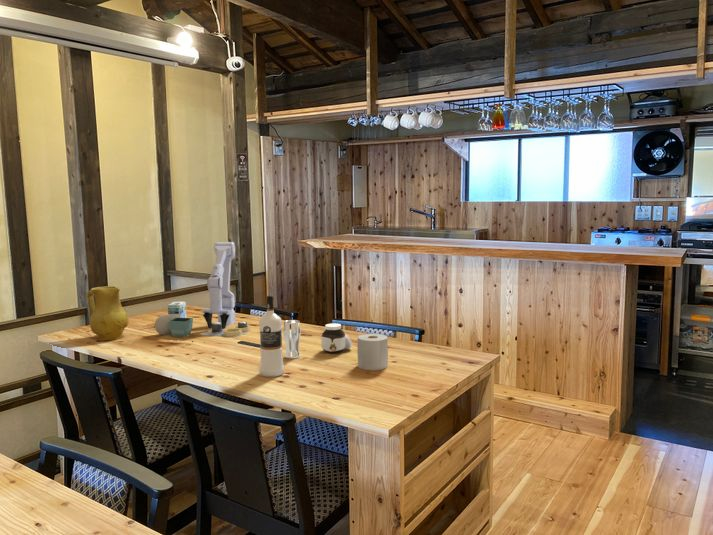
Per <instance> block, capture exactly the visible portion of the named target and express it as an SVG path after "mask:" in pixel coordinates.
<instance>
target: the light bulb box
mask: <svg viewBox="0 0 713 535" xmlns="http://www.w3.org/2000/svg"><path fill="white" fill-rule="evenodd" d="M167 311H168V312H167V315H170V316H172V317H173V318H188V317H187V302H186V301H172V302H170V303H169V304H167Z"/></svg>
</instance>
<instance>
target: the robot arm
mask: <svg viewBox="0 0 713 535" xmlns="http://www.w3.org/2000/svg"><path fill="white" fill-rule="evenodd" d="M213 248H214V249H213V252H214V253H215V255H216V257H215V258H216V259H215V264H214V265H212V269H211V272H210V276H209V277H208V278H207V280H206V282H207V283H206V284H207V289H208V291H207V292H208V293H209V308H203V309H202V310H201V312H202V313H201V314H202V317H203V318H204V320H205V322H206V324H207V328H208V329H212V323H213V322H212V321H213V320H212V319H213V314H216V315H217V322H220V323H222V329H226V328H227V327H228V326H232V325H233V324H235V323H236V311H235V310H234V308H235V306H236V300H235V294H234V292H232V291H230V286H231V272H232V271H231V266H232V261H233V260H234V259H235V257H236V244H235V242H234V241H226V242H225V241H221V242H220V241H216V242H214V244H213Z"/></svg>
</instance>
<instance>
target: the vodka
mask: <svg viewBox="0 0 713 535" xmlns="http://www.w3.org/2000/svg"><path fill="white" fill-rule="evenodd" d="M274 306H275V305H274V295H266V313H264V314H263V315H262V316H261V317H260V318H259V321H258V324H259V334H260V335H259V336H260V337H259V338H260V339H259V340H260V349H259V350H260V364H259V374H260V375H261V376H262V377H265V378H275V377H280V376H281V375H283V374H284V373H285V366H284V359H283V342H282V340H283V338H282V337H283V335H282V333H283V332H282V329H283V326H282V324H283V321H282V318H281V317H280V316H279V315H278V314H276V313H275V311H274V310H275V309H274Z"/></svg>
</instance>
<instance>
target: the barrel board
mask: <svg viewBox="0 0 713 535" xmlns="http://www.w3.org/2000/svg"><path fill="white" fill-rule="evenodd" d="M250 328H251V326H250V325H248V322H247V321H238V322H237V325H236V326H235V327H231V328H225V329H222V331H221V332H212V329H211V330H208V331H206V332H203V333H201V334H200V336H210V337H212V336H213V337H223V338H224V337H227V338H239V337H242V336H244V335H245V334H247V333H250V332H251V329H250Z"/></svg>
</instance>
